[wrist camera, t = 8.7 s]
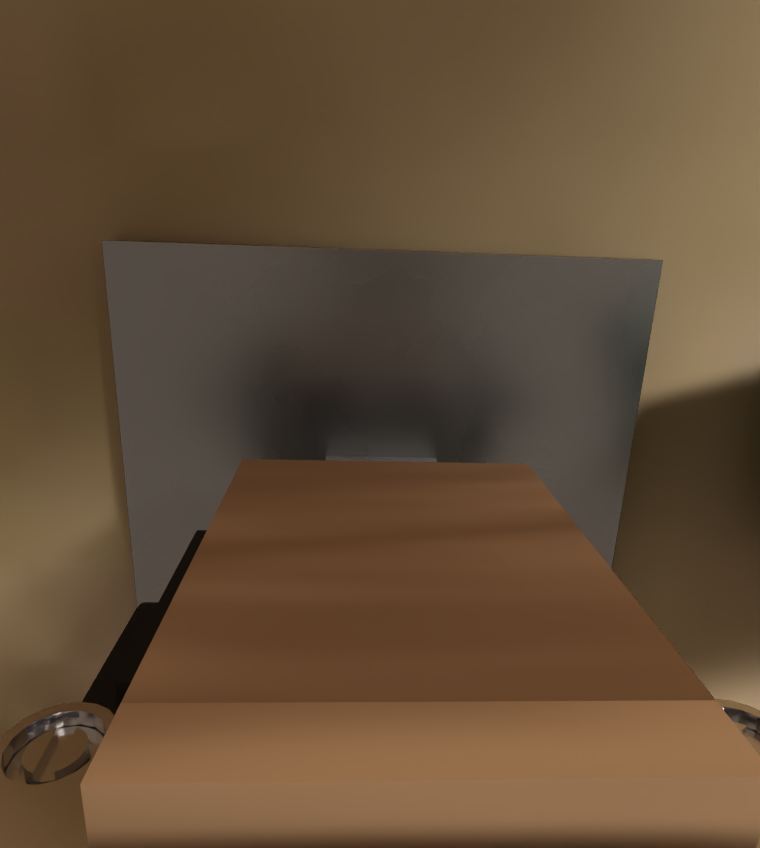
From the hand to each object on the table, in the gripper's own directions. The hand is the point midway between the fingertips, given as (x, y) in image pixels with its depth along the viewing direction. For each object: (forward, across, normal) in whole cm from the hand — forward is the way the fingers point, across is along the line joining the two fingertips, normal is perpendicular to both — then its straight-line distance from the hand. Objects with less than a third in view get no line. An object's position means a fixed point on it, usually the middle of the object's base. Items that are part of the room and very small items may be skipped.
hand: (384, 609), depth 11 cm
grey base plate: (+5, 0, 0) cm, 5 cm away
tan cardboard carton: (+1, 0, 0) cm, 1 cm away
